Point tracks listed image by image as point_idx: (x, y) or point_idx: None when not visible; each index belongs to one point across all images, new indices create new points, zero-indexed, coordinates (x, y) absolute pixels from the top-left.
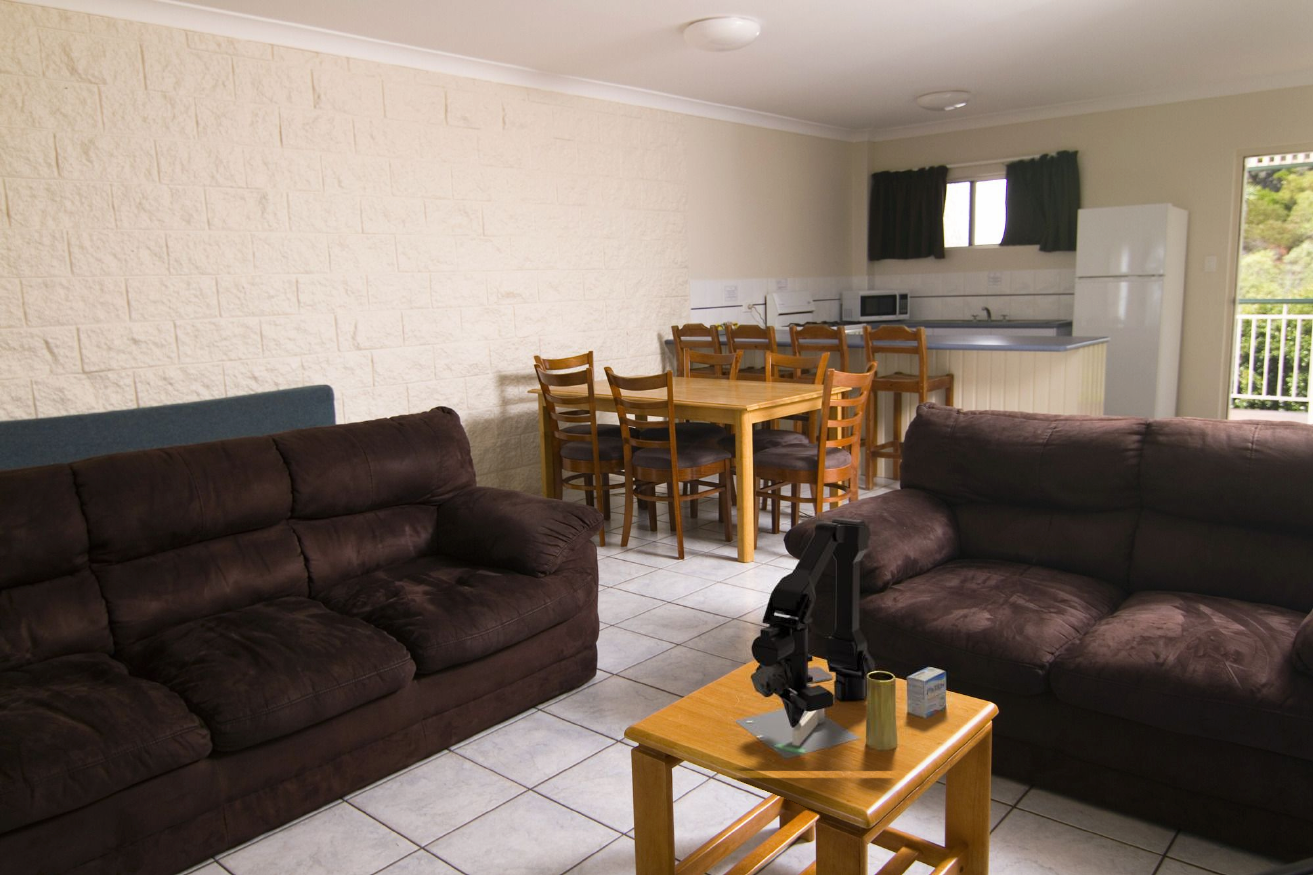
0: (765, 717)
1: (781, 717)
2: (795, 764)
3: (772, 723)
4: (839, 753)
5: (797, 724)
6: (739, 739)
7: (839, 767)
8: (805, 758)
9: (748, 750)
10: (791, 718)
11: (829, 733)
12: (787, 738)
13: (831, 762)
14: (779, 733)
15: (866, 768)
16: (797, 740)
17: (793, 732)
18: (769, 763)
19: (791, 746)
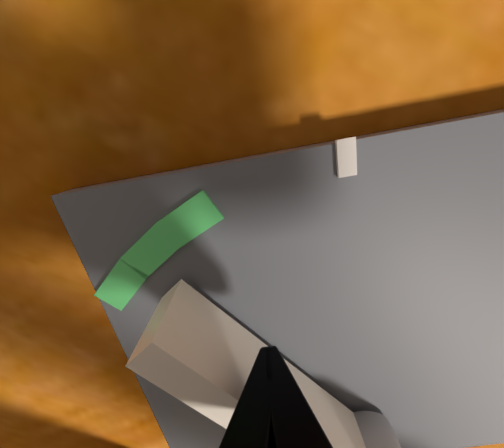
0: None
1: (481, 335)
2: (62, 225)
3: (454, 279)
4: (132, 391)
5: (221, 391)
6: (425, 46)
7: (24, 357)
8: None
9: (269, 45)
10: (243, 407)
11: None
12: (270, 283)
13: (66, 349)
14: (337, 269)
15: (14, 416)
16: (155, 313)
17: (153, 332)
18: (85, 106)
19: (183, 268)
